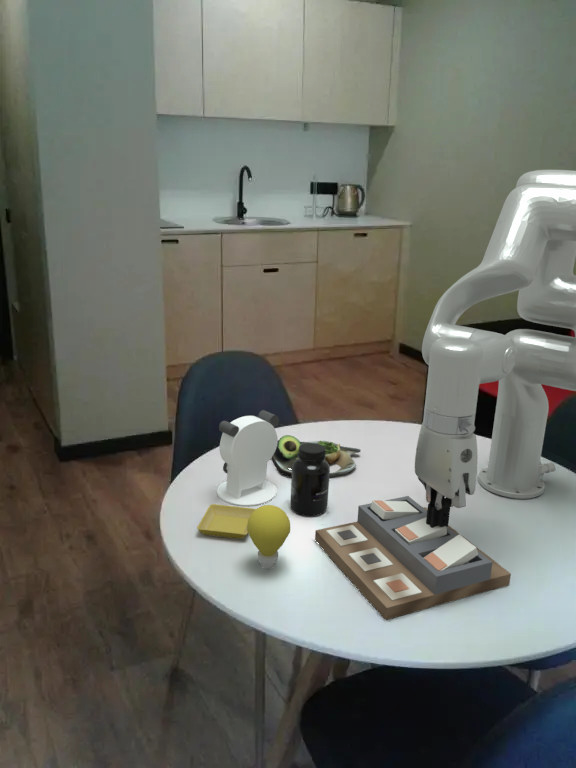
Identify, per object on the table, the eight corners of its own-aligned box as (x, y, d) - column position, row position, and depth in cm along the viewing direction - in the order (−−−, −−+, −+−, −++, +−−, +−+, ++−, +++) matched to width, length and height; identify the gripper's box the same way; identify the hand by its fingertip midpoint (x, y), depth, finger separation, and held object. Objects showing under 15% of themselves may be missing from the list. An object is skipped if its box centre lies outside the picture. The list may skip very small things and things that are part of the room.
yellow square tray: (246, 545, 111) (246, 534, 110) (196, 539, 112) (196, 528, 112) (257, 519, 119) (258, 508, 118) (210, 513, 120) (210, 503, 120)
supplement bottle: (324, 519, 119) (327, 457, 115) (286, 514, 120) (288, 453, 116) (330, 501, 125) (333, 442, 122) (294, 497, 127) (296, 438, 123)
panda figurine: (253, 472, 136) (254, 403, 131) (291, 493, 128) (294, 419, 123) (205, 489, 128) (204, 416, 123) (242, 512, 120) (243, 435, 116)
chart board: (424, 517, 121) (425, 505, 120) (509, 585, 102) (511, 571, 101) (314, 540, 112) (315, 528, 111) (385, 620, 93) (387, 606, 92)
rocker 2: (431, 522, 109) (431, 514, 109) (446, 534, 106) (446, 526, 105) (395, 536, 107) (394, 528, 106) (409, 549, 104) (409, 541, 103)
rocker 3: (461, 540, 103) (459, 533, 102) (478, 554, 99) (476, 546, 99) (424, 565, 101) (422, 557, 100) (440, 579, 97) (438, 572, 97)
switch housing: (406, 511, 119) (408, 495, 118) (489, 579, 100) (492, 561, 99) (357, 521, 115) (358, 505, 114) (434, 594, 96) (436, 576, 95)
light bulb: (257, 581, 101) (258, 522, 98) (239, 558, 106) (240, 502, 103) (296, 570, 104) (299, 513, 101) (277, 548, 109) (279, 494, 106)
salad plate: (348, 442, 153) (349, 423, 152) (375, 477, 136) (377, 456, 135) (265, 448, 149) (265, 428, 147) (282, 484, 132) (283, 462, 131)
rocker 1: (403, 508, 116) (406, 500, 116) (417, 519, 113) (419, 511, 112) (370, 508, 113) (372, 499, 113) (383, 519, 110) (385, 510, 109)
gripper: (502, 434, 96) (486, 545, 102) (438, 400, 109) (428, 501, 115) (460, 441, 93) (446, 556, 99) (400, 406, 106) (391, 509, 112)
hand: (436, 526), depth 107 cm, fingers closed
